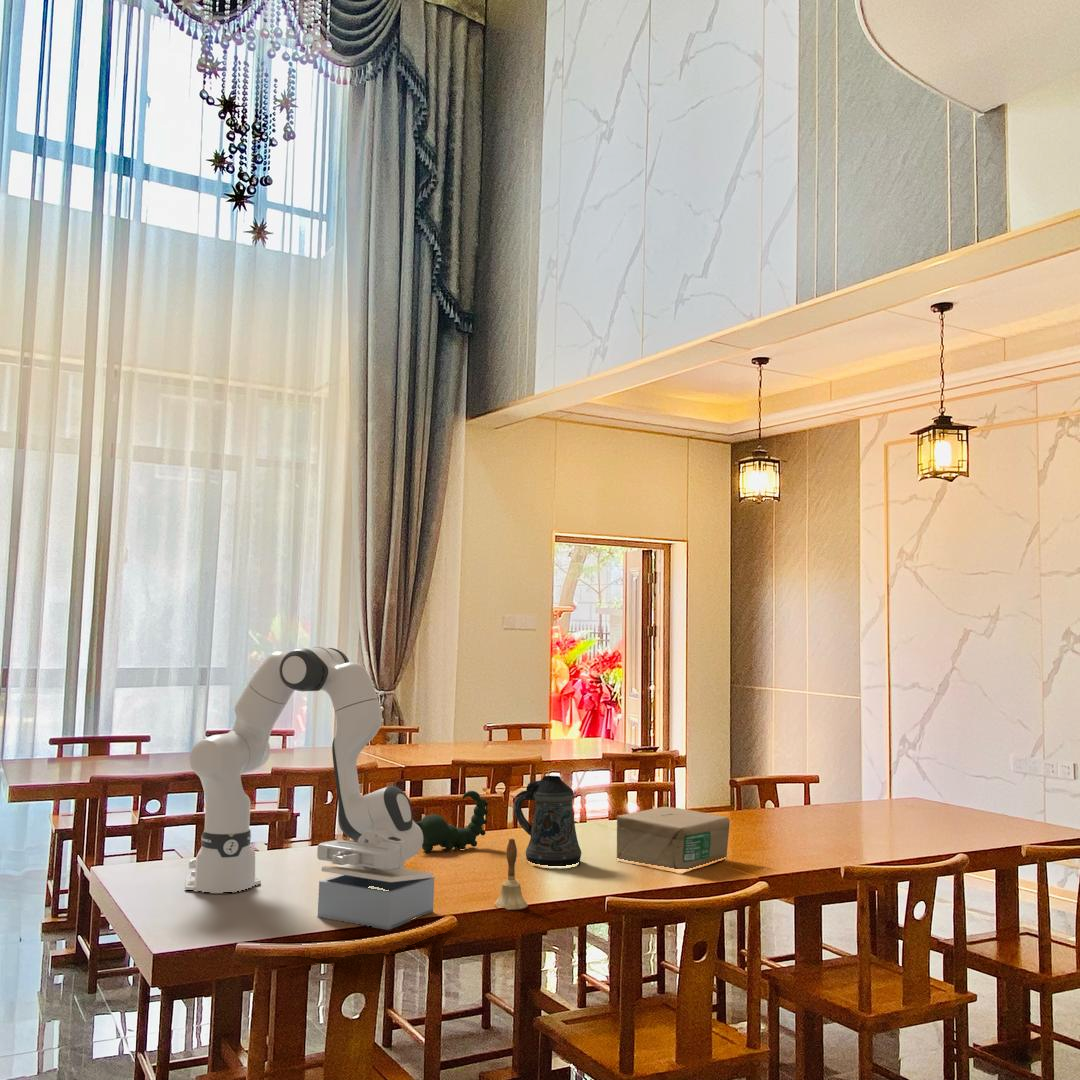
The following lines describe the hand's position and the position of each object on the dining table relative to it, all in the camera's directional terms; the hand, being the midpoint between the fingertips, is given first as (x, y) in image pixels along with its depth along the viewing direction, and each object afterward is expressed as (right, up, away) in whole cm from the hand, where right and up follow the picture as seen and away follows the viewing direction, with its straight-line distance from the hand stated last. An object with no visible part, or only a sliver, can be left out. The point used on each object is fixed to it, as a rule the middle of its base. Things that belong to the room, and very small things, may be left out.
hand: (337, 860), depth 224 cm
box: (+7, -16, +12) cm, 22 cm away
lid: (+7, -7, +13) cm, 16 cm away
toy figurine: (+17, -25, +87) cm, 92 cm away
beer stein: (+48, -24, +72) cm, 90 cm away
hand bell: (+38, -19, +24) cm, 49 cm away
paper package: (+85, -26, +80) cm, 120 cm away
